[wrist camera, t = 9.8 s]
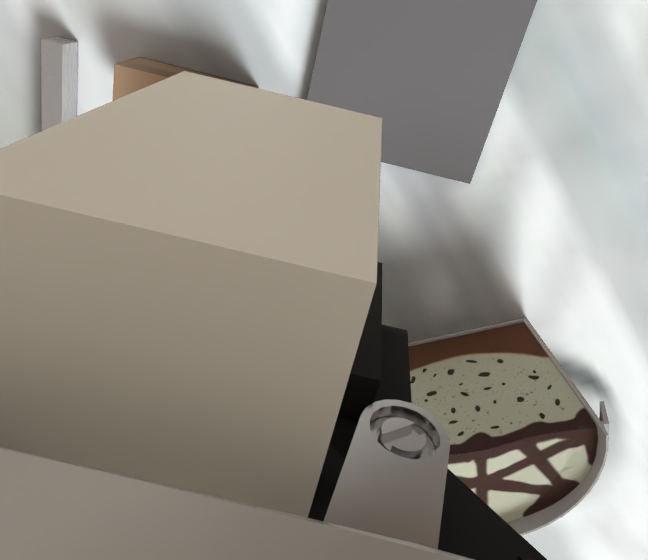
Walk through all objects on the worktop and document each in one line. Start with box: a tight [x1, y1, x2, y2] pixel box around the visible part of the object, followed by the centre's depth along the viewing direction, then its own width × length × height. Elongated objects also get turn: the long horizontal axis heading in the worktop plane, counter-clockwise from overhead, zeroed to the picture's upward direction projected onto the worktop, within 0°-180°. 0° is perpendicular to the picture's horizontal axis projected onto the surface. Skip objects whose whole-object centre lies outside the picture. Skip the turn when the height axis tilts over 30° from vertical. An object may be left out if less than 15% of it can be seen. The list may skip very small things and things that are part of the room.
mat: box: [307, 0, 537, 184], centre depth 26 cm, size 9×12×1 cm
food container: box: [408, 318, 609, 535], centre depth 31 cm, size 12×6×10 cm, turn 107°
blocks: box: [41, 37, 258, 131], centre depth 30 cm, size 10×14×3 cm
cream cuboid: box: [0, 71, 382, 518], centre depth 10 cm, size 4×8×7 cm, turn 168°
